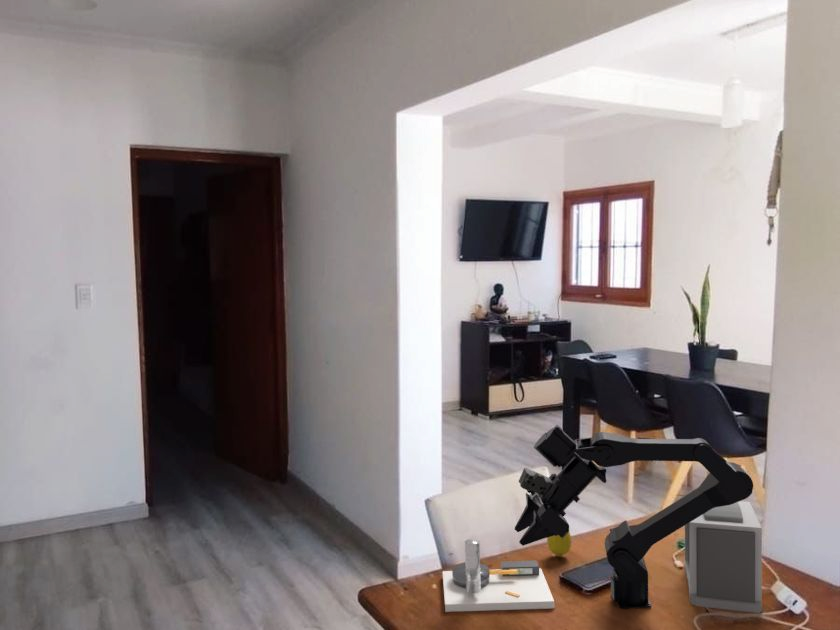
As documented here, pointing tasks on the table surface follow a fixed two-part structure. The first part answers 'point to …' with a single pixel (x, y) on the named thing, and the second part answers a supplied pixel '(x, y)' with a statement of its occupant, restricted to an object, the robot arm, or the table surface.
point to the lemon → (559, 544)
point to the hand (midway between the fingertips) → (518, 537)
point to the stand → (502, 590)
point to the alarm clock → (725, 559)
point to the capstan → (474, 569)
